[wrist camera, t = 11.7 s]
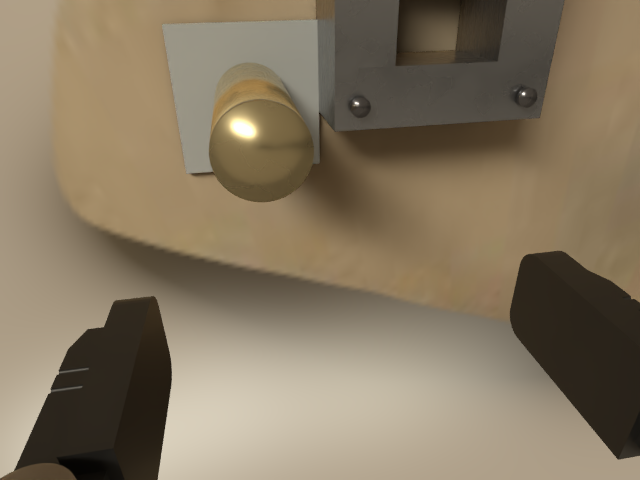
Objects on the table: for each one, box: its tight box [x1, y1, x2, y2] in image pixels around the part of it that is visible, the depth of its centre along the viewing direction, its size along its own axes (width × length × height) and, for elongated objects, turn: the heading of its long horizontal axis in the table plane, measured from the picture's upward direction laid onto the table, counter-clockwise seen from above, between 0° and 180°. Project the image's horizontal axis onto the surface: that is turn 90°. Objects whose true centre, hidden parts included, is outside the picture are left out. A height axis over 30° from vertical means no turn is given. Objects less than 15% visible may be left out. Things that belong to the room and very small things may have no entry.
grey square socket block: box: [316, 0, 564, 132], centre depth 29 cm, size 14×14×7 cm
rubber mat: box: [162, 20, 320, 174], centre depth 33 cm, size 10×10×1 cm
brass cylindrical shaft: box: [209, 63, 314, 202], centre depth 27 cm, size 5×5×12 cm
